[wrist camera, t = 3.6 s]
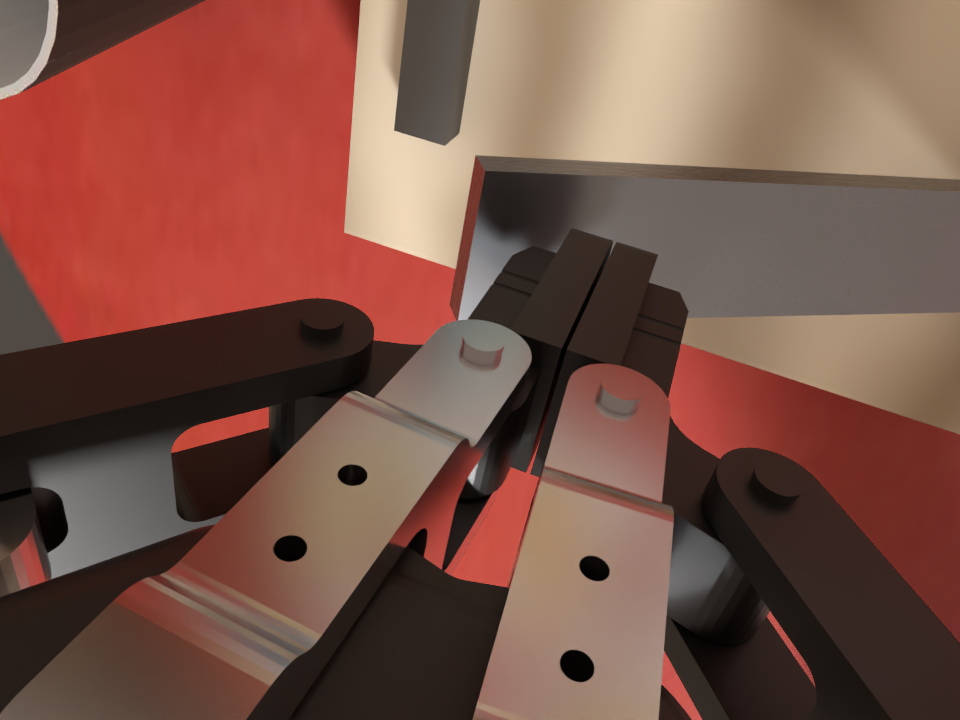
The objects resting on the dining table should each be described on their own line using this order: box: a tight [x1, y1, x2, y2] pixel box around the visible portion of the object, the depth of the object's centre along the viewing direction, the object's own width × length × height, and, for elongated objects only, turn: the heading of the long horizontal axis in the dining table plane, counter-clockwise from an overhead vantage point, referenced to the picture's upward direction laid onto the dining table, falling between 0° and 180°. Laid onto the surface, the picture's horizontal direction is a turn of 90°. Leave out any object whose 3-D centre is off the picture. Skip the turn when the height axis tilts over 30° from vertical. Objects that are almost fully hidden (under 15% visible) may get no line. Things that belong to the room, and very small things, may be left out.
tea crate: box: [344, 0, 960, 435], centre depth 22 cm, size 24×13×8 cm, turn 80°
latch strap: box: [450, 155, 960, 321], centre depth 16 cm, size 16×3×1 cm
